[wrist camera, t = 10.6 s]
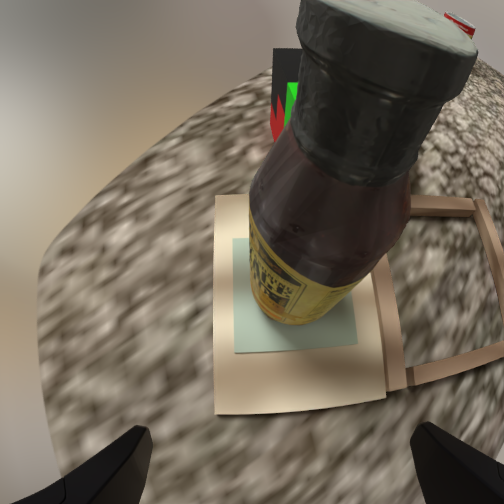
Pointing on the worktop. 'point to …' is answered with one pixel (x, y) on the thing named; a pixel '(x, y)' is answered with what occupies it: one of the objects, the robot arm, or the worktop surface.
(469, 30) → the canned food
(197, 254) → the worktop surface
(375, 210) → the sauce bottle
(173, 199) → the worktop surface
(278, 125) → the puzzle toy
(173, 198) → the worktop surface
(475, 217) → the wooden frame
